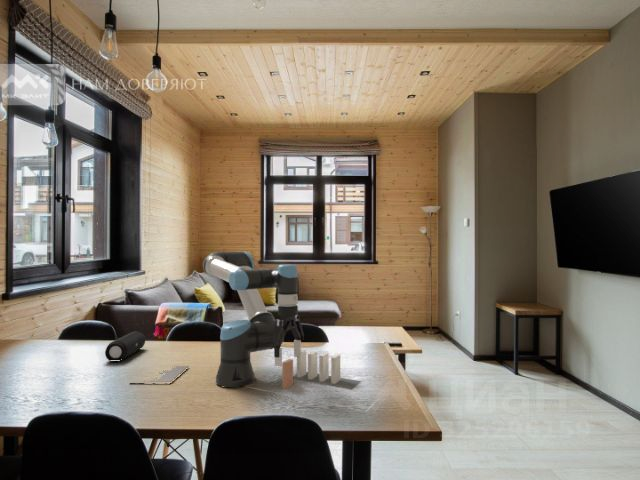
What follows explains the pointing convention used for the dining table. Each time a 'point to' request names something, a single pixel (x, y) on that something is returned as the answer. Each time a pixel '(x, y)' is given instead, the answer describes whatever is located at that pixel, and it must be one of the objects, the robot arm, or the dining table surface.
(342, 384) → the mat
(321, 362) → the domino
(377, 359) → the dining table surface
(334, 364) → the domino
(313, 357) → the domino
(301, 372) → the domino
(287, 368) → the end domino
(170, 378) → the play button award
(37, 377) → the dining table surface
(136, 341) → the portable speaker
